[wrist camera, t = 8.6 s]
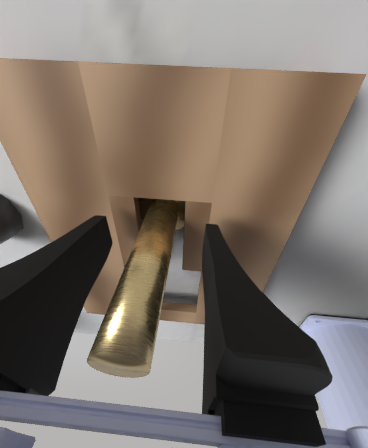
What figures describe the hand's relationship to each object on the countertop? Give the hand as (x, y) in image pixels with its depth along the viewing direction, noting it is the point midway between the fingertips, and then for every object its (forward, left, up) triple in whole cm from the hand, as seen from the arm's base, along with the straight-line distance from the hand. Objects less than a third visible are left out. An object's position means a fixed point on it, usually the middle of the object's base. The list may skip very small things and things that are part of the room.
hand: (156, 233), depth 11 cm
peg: (0, 0, -4) cm, 4 cm away
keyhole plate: (0, +2, -4) cm, 4 cm away
